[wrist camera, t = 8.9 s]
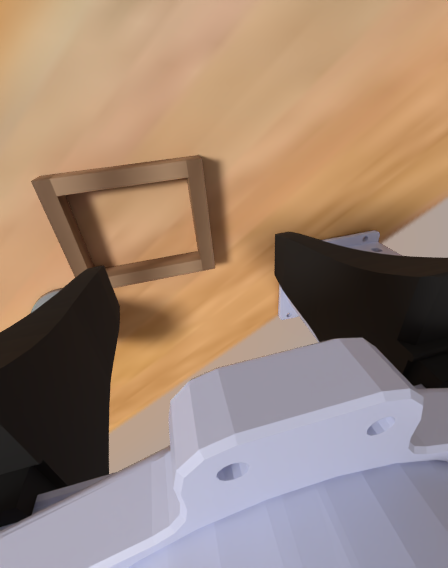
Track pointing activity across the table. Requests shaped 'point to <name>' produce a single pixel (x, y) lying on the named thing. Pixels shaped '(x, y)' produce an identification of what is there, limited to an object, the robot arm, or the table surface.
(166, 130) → the table surface
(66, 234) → the frame
